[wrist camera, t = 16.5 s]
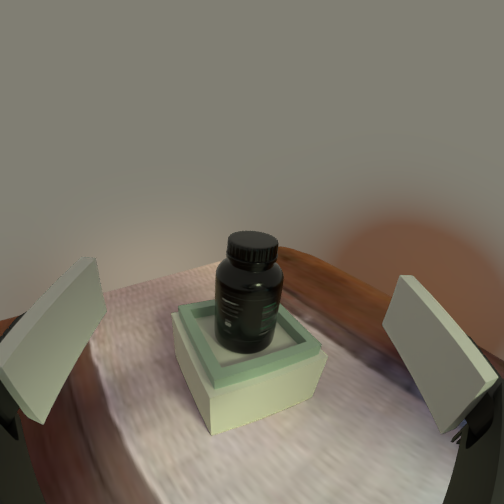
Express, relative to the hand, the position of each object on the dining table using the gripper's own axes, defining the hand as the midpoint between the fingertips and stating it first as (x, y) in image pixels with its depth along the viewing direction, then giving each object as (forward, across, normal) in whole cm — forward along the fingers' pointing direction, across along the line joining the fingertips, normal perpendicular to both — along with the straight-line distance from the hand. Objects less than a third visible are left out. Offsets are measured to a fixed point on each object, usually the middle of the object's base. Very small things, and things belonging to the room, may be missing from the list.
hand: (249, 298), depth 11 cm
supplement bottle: (+15, +1, -16) cm, 22 cm away
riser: (+15, +1, -23) cm, 28 cm away
